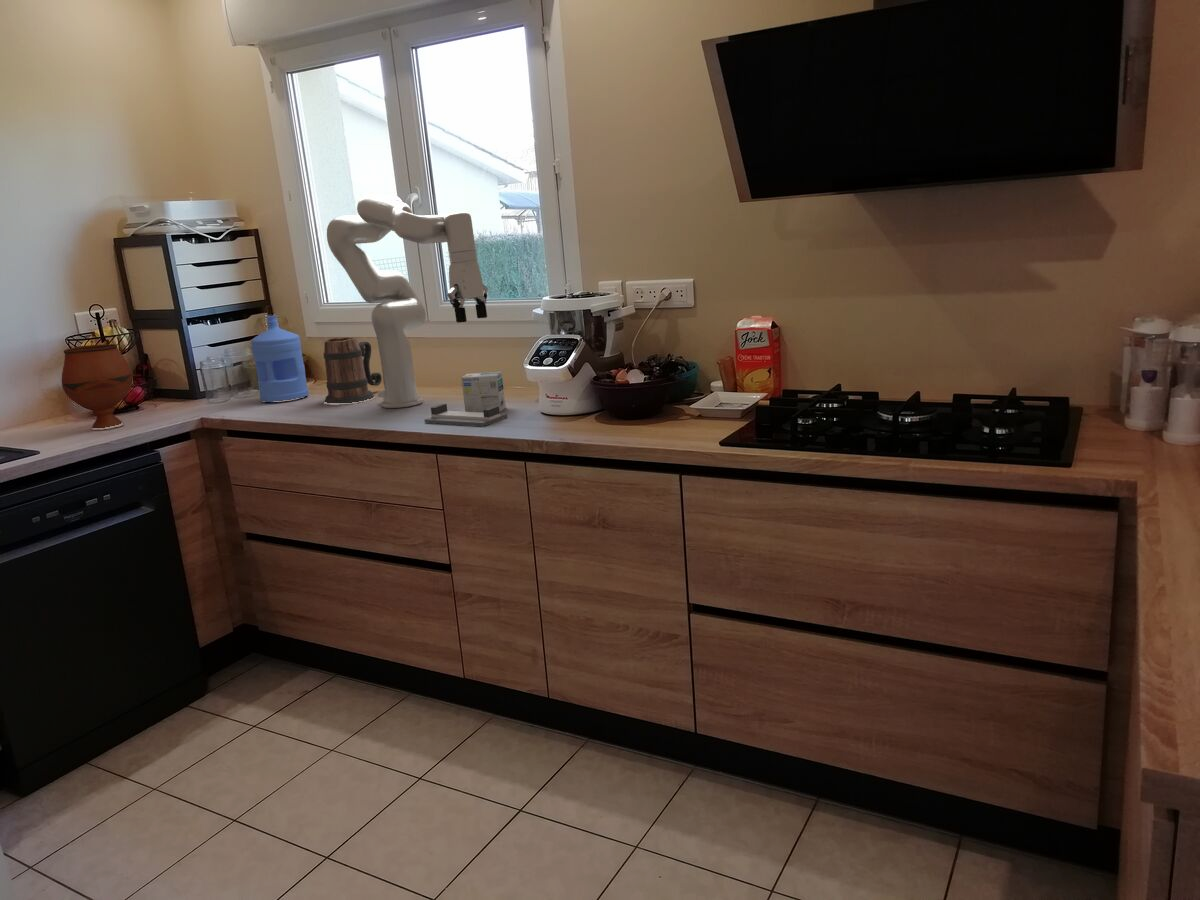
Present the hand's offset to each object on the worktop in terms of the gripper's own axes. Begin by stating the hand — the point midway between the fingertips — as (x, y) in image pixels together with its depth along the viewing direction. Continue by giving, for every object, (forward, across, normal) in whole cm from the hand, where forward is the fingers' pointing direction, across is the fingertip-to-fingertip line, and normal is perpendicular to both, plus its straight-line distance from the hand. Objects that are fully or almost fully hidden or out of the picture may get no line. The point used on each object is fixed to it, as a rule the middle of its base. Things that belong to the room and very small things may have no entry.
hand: (472, 320), depth 245 cm
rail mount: (+26, +13, +3) cm, 29 cm away
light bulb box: (+26, +1, +1) cm, 26 cm away
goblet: (+21, +44, -110) cm, 121 cm away
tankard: (+23, -9, -58) cm, 63 cm away
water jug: (+22, -3, -85) cm, 88 cm away
